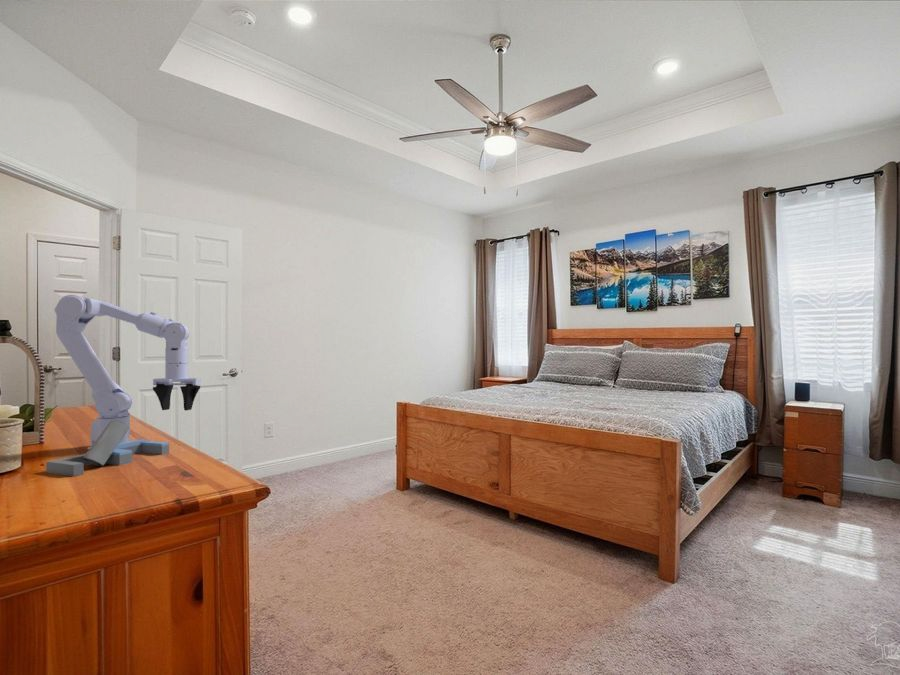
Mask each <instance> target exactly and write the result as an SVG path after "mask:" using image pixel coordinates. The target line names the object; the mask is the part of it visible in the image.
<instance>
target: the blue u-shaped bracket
mask: <svg viewBox="0 0 900 675" xmlns="http://www.w3.org/2000/svg"><path fill="white" fill-rule="evenodd" d="M141 444H143V445H154V446H165V445H169V446H170V442H167V441H157V440H155V441H154V440H147V439H143V438H141V439H135V440H130V442H124V443H119V444H118V446H117V447H116V448H115V450H114V451H113V453H112V455H123V454H128V453H132V450H124V449H121V448H126V447H131V446H136V445H141Z"/></svg>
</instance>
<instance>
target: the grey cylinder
mask: <svg viewBox="0 0 900 675" xmlns="http://www.w3.org/2000/svg"><path fill="white" fill-rule="evenodd" d="M128 430H129V426H127V425H126V424H124V423H122V422H120V421H117V420H111V421H110V422H109V424H108V425H107V426H106V428H105V429H104V430H103V432H102V433H101V434H100V436H99V437H98V438H97V440H96V441H95V442H94V444H93V445H92V447H91V446H90V447H91V448H90V449H88V451H87V452H86V453H85V454H86V455H85V456H84V458H83V459H84V460H85V461H87V462H89V463H91V464H90V465H94V466H98V467H103V466H104V465H105V464H106V461H107V460H108V458H109V457H110V455H111V454H112V453H113V451H114V450H115V448H116V447H117V446H118V444H119V443H120V441H121V440H122V438H123V437H124V436H125V434H126V433H127V431H128Z"/></svg>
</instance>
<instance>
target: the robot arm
mask: <svg viewBox="0 0 900 675" xmlns="http://www.w3.org/2000/svg"><path fill="white" fill-rule="evenodd" d="M54 313H55V314H56V323H55V324H56V326H55V328H56V330H55V332H56V336H57V337H58V339H59V340H60V342H61V343H62V345H63V347H64V348H65V350H66V351H67V353H68V355H69V356H70V357H71V359H72V360H73V362H74V363H75V365H76V367H77V369H79V372H80V373H81V374H82V376H83V378H84V379H85V380H86V382H87V383H88V385H89V387H90V388H91V390H92V391H91V392H92V393H91V397H92V399H93V401H94V404H95V406H94V408H95V410H96V413H97V414H98V417H96V418H95V419H94V420H93V421H92V422H91V425H90V446H89V447H87V450H89V449H90V448H91V447H92V445H93V444H94V442H95V441H96V440H97V438H98V437H99V436H100V434H101V433H102V432H103V430H104V429H105V428H106V426H107V425H108V424H109V422H110V421H111V420H117V421H120V422H122V423H124V424H126V425H127V426H129V430H128V431H127V433H126V434H125V436H124V437H123V438H122V440H121V441H120V443H124V442H130V441H131V420H130V419H131V415H130V414H131V413H130V412H129V410H130V408H132V405H133V397H132V396H131V395H130V394H129V393H127V392H125V391H124V389H122V388H121V386H120V385H119V384H118V383H117V382H115V381H114V380H113V379H112V377H111V375H110V374H109V372H108V371H107V369H106V368H105V366H104V365H103V363H102V362H101V360H100V359H99V357H98V355H97V354H96V352H95V351H94V349H93V347H92V346H91V344H90V343H89V341H88V340H87V338H86V336H85V335H84V331H85V329H86V327H87V325H88V324H89V323H90V322H91V321H92V320H93V319H94V318H95V317H104V316H106V317H107V316H108V317H111V318H114V319H116V320H117V319H118V320H120V321H123V322H126V323H129V324H133V325H135V327H136V329H137V331H139V332H143V333H145V334H148V335H151V336H154V337H158V338H161V339H163V338H164V340H165V352H164V353H165V356H164V357H165V358H164V359H165V368H164V369H165V371H164V373H165V378H164V377H163V378H161V377H160V378H153V379H152V384H153V386H152V390H153V392H154V393H155V395H156V397H157V398H158V401H159V404H160V408H161V410H162V411H167V410H170V409H171V396H172V391H173V388H174V386H180V387H179V388H180V390H181V393H182V399H183V409H184V411H191V410H192V409H193V405H194V401H195V400H196V399H195V398H196V396H197V394H198V392H199V391H200V389H201V377H199V378H198V377H196V378H195V377H189V374H188V373H189V368H188V367H189V365H188V364H189V357H188V356H189V353H188V352H189V351H188V350H189V348H188V338H189V337H190V329H189V328H188V326H186V325H185V324H183V323H181V322H174V321H175V319H173V318H169V319H167V318H166V317H165V318H164V317H162V316H159V315H158V313H157V312H154V311H150V312H148V311H146V312H143V313H140V314H139V313H137V312H135V311H132V310H129V309H125V308H123V307H120V306H118V305H115V304H113V303H110V302H106V301H102V300H99V299H93V298H89V297H81V296H79V295H77V294H67V295H64V296H62V297H61V298H60V300H59V301H58V302H57V304H56V306H55V308H54Z"/></svg>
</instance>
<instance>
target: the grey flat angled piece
mask: <svg viewBox="0 0 900 675" xmlns="http://www.w3.org/2000/svg"><path fill="white" fill-rule="evenodd" d="M121 449H124V450H132V453H128V454H123V455H112V454H111V455H110V457H109V458H108V460H107V461H106V463H105V464H107V465H116V466H123V465H126V464H131V463H133V455H135V454H139V453H144V454H152V455H161V456H162V455H167V454H170V444H169V445H165V446H154V445H143V444H141V445H136V446H131V447H126V448H121ZM85 455H86V453H83V454H77V455H75V456H74V455H73V456H68V457H64V458H59V459H53V460H48V461H46V463H45V465H46V466H45V467H46V468H45V472H46V473H48V474H55V475H62V476H63V475H64V476H68V477H69V476H70V477H77V476H81V475H84V470H85V469H84V466H88V465H92V464H91V463H89V462H87V461H85V460H84V459H83V458H84V456H85Z"/></svg>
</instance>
